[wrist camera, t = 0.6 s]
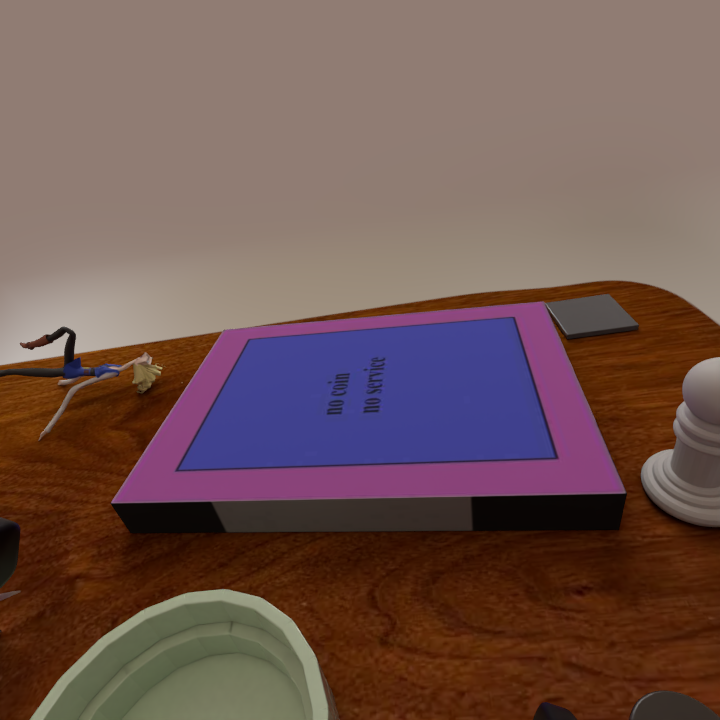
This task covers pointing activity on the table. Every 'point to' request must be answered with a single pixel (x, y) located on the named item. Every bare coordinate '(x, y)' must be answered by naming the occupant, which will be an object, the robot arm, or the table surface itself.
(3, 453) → the table surface
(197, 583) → the table surface
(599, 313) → the coaster
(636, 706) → the black post
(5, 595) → the lily
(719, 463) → the chess piece
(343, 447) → the book
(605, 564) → the table surface
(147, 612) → the bowl
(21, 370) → the figurine
